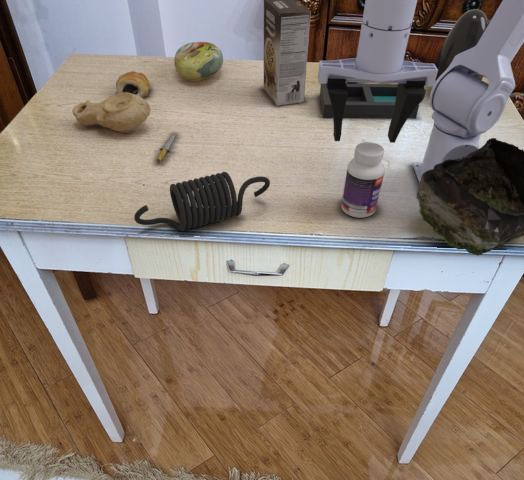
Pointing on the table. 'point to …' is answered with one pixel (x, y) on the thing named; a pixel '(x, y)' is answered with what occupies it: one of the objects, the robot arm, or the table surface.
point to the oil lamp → (114, 112)
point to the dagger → (165, 149)
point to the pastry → (133, 84)
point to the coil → (204, 201)
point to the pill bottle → (363, 180)
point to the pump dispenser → (461, 39)
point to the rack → (365, 101)
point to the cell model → (198, 60)
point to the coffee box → (285, 50)
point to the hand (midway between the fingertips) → (363, 138)
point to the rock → (476, 198)
